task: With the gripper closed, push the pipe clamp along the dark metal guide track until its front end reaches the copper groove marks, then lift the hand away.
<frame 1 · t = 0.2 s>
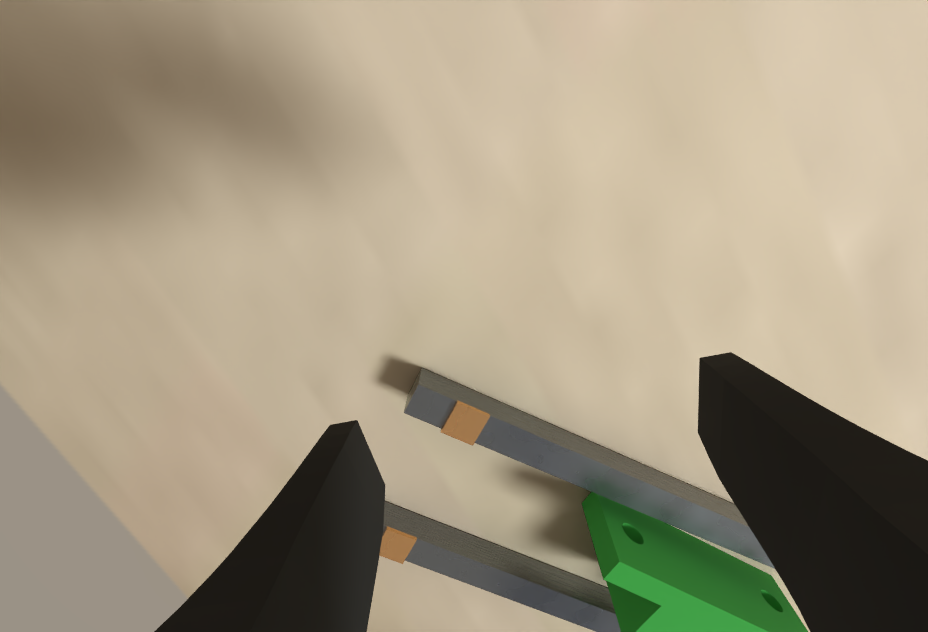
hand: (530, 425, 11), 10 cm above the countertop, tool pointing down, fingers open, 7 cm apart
guide track: (585, 527, 25), on the countertop
pipe clamp: (660, 549, 26), on the countertop
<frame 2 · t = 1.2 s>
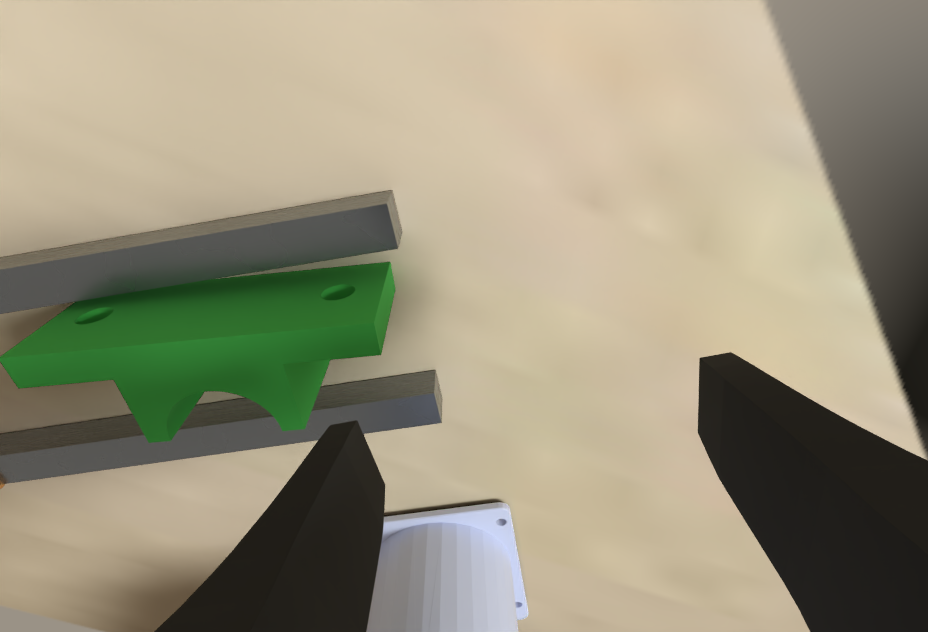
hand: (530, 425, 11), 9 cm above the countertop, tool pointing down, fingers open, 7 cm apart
guide track: (145, 349, 20), on the countertop
pipe clamp: (254, 313, 19), on the countertop
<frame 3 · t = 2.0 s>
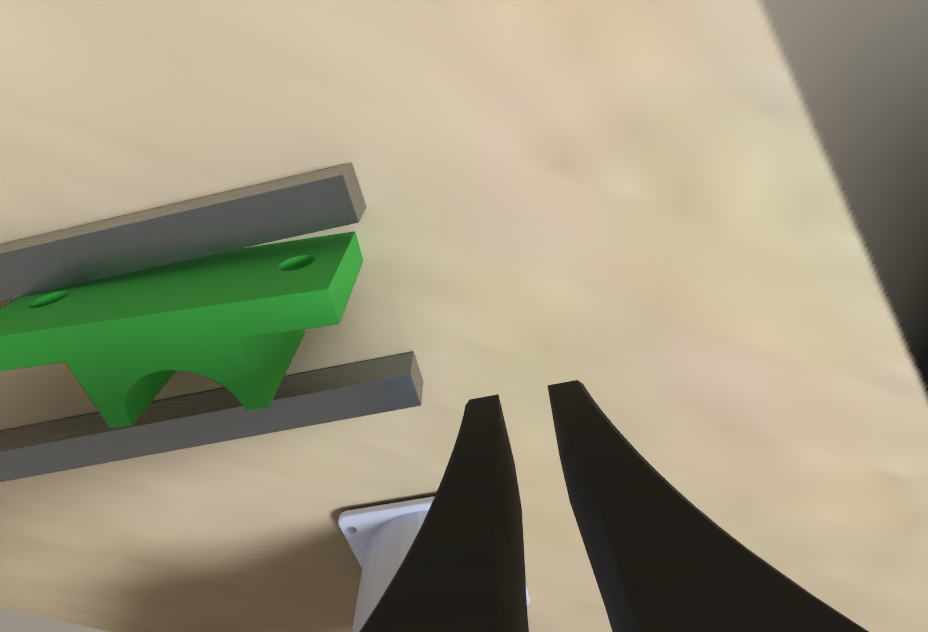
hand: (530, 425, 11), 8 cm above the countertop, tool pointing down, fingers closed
guide track: (116, 341, 19), on the countertop
pipe clamp: (220, 293, 19), on the countertop
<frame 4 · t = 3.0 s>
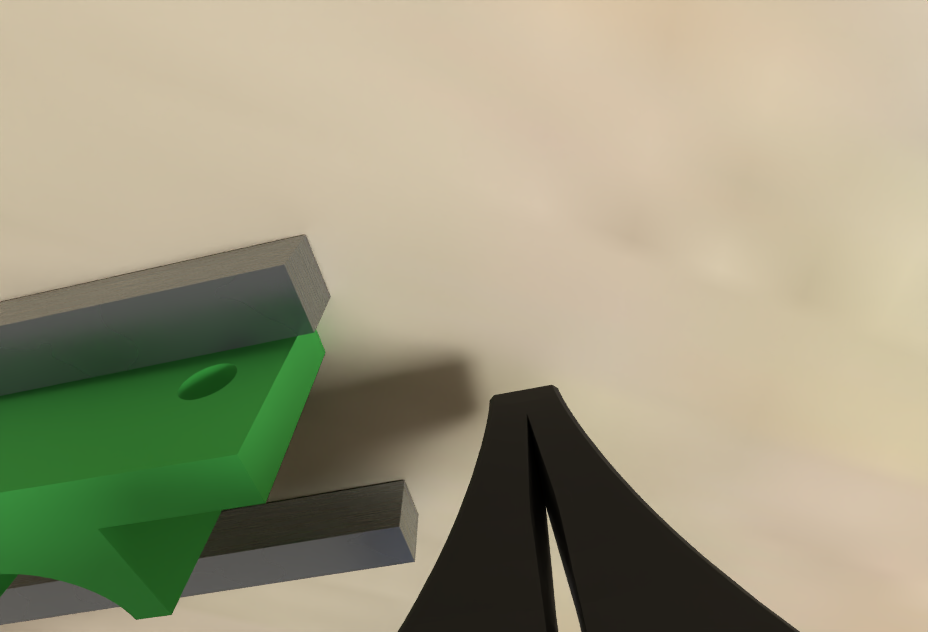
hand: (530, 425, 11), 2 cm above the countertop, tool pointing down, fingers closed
pipe clamp: (125, 402, 13), on the countertop
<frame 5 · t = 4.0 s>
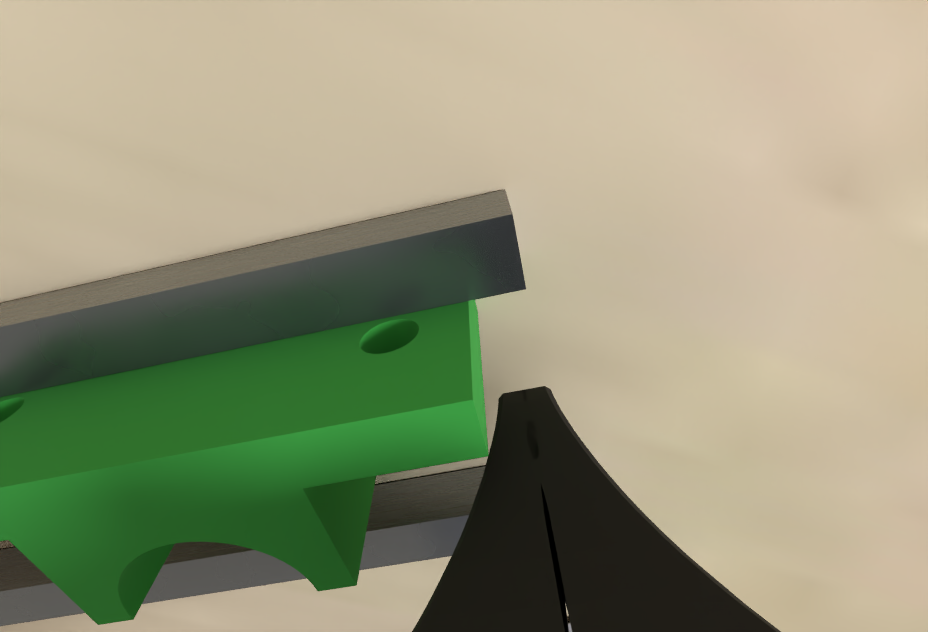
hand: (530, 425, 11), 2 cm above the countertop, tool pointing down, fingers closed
guide track: (126, 445, 13), on the countertop
pipe clamp: (259, 373, 12), on the countertop, touching gripper
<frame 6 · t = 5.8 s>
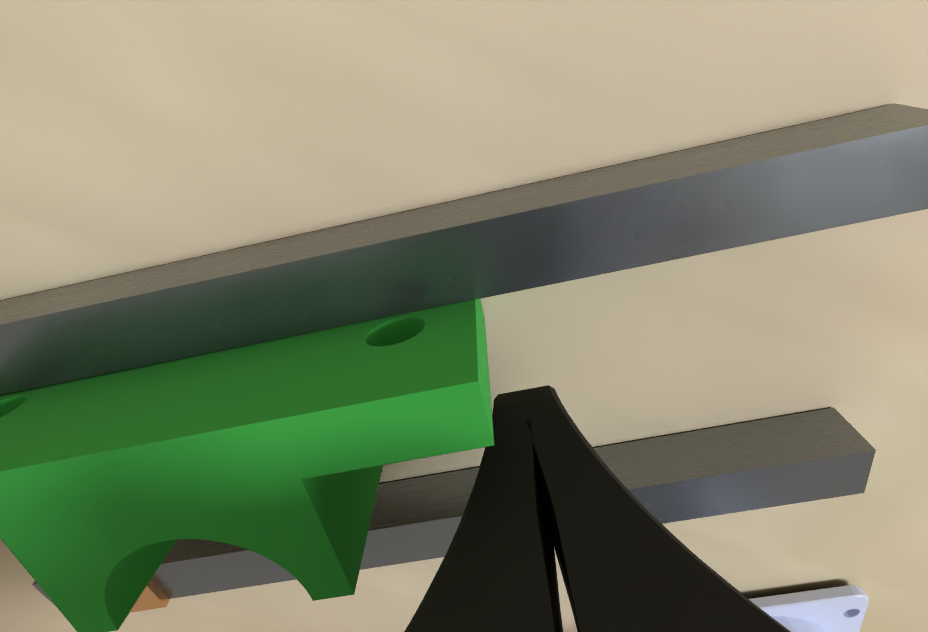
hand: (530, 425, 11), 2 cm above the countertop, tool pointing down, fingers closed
guide track: (392, 394, 13), on the countertop
pipe clamp: (263, 382, 12), on the countertop, touching gripper, guide track
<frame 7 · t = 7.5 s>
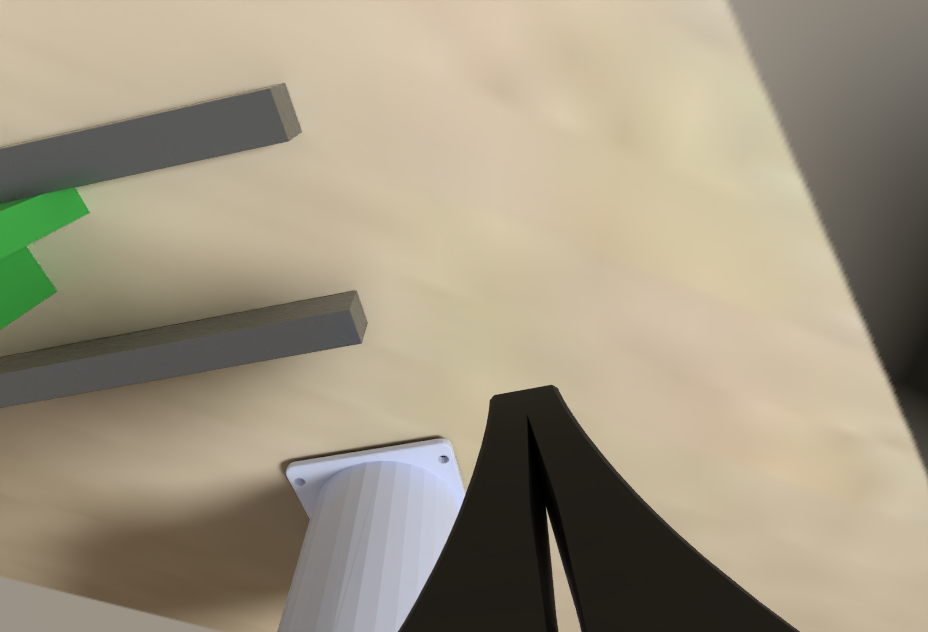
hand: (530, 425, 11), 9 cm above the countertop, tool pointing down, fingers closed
guide track: (52, 274, 19), on the countertop
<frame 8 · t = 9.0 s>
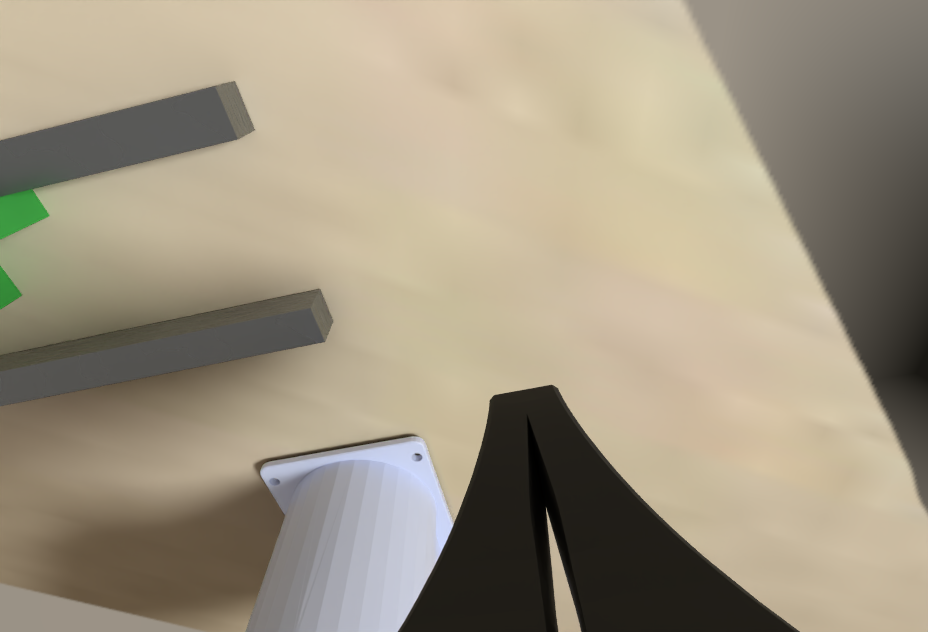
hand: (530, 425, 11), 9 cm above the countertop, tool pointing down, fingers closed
guide track: (15, 277, 19), on the countertop
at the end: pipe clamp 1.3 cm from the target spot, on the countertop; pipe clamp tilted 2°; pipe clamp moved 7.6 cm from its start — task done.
